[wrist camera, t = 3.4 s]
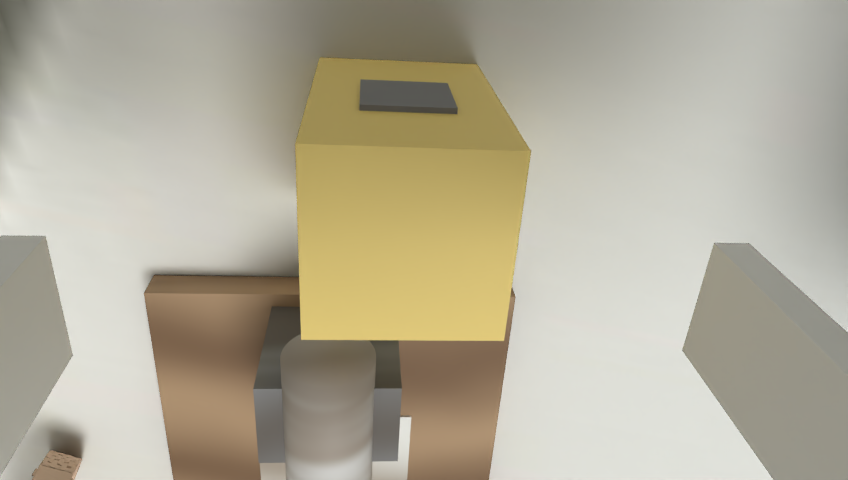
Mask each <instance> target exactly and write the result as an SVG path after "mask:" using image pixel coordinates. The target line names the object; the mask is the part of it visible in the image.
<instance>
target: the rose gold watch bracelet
mask: <svg viewBox="0 0 848 480" xmlns="http://www.w3.org/2000/svg"><path fill="white" fill-rule="evenodd" d="M81 461H82V458H76V457H74V456H71V455H66V454H64V453H61V452H60V453H59V452H55V451H52V450H50V451H49V452H48V454H47V455H46V457H45V458H44V459H43V461H42V463H41V464H40V466H39V468H38V469H37V468H36V469H35V470H34V472H33V474H32V476H34V477H33V478H32V480H74V479H75V477H76V474H77V472H78V469H79V467H80V464H81Z"/></svg>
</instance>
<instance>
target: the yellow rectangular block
mask: <svg viewBox="0 0 848 480" xmlns="http://www.w3.org/2000/svg"><path fill="white" fill-rule="evenodd" d="M295 154H296V188H297V221H298V254H299V287H300V321H301V340H427V341H504V337H505V330H506V323H507V316H508V309H509V302H510V295H511V288H512V281H513V274H514V267H515V260H516V253H517V246H518V239H519V232H520V225H521V218H522V211H523V204H524V197H525V190H526V183H527V176H528V169H529V162H530V155H531V150H530V149H529V147H528V146H527V144H526V142H525V141H524V139H523V138H522V136H521V134H520V133H519V131H518V129H517V128H516V126H515V125H514V123H513V121H512V120H511V118H510V116H509V115H508V113H507V112H506V110H505V108H504V107H503V105H502V104H501V102H500V100H499V99H498V97H497V95H496V94H495V92H494V91H493V89H492V87H491V86H490V84H489V82H488V81H487V79H486V78H485V76H484V74H483V73H482V71H481V70H480V68H479V66H478V65H477V64H460V63H437V62H414V61H392V60H369V59H346V58H324V57H320V58H319V61H318V65H317V68H316V72H315V76H314V79H313V83H312V86H311V90H310V93H309V97H308V100H307V104H306V107H305V111H304V114H303V118H302V121H301V125H300V128H299V132H298V136H297V139H296V143H295Z"/></svg>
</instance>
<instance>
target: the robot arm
mask: <svg viewBox="0 0 848 480" xmlns="http://www.w3.org/2000/svg"><path fill="white" fill-rule="evenodd" d="M682 351H683V352H684V353H685V355H686V356H687V358H688V359H689V361H690V362H691V363H692V365H693V366H694V368H695V369H696V370H697V372H698V373H699V375H700V376H701V378H702V379H703V380H704V382H705V383H706V385H707V386H708V387H709V389H710V390H711V392H712V393H713V395H714V396H715V397H716V399H717V400H718V402H719V403H720V404H721V406H722V407H723V409H724V410H725V412H726V413H727V414H728V416H729V417H730V419H731V420H732V421H733V423H734V424H735V426H736V427H737V429H738V430H739V431H740V433H741V434H742V436H743V437H744V439H745V440H746V441H747V443H748V444H749V446H750V447H751V448H752V450H753V451H754V453H755V454H756V456H757V457H758V458H759V460H760V461H761V463H762V464H763V465H764V467H765V468H766V470H767V471H768V473H769V474H770V475H771V477H772V478H773V480H848V333H847V332H846V331H845V330H844V329H843V328H842V327H841V326H840V325H839V324H837V323H836V322H835V321H834V320H833V319H832V318H831V317H830V316H829V315H827V314H826V313H825V312H824V311H823V310H822V309H821V308H820V307H819V306H818V305H816V304H815V303H814V302H813V301H812V300H811V299H810V298H809V297H808V296H807V295H805V294H804V293H803V292H802V291H801V290H800V289H799V288H798V287H797V286H795V285H794V284H793V283H792V282H791V281H790V280H789V279H788V278H787V277H786V276H784V275H783V274H782V273H781V272H780V271H779V270H778V269H777V268H776V267H775V266H773V265H772V264H771V263H770V262H769V261H768V260H767V259H766V258H765V257H763V256H762V255H761V254H760V253H759V252H758V251H757V250H756V249H755V248H754V247H752V246H751V245H750V244H749V243H714V245H713V249H712V252H711V255H710V259H709V262H708V266H707V269H706V272H705V276H704V279H703V282H702V286H701V289H700V293H699V296H698V299H697V303H696V306H695V309H694V313H693V316H692V320H691V323H690V326H689V330H688V333H687V336H686V340H685V343H684V347H683V350H682ZM72 356H73V354H72V350H71V346H70V341H69V337H68V332H67V328H66V324H65V319H64V315H63V311H62V306H61V302H60V297H59V293H58V289H57V284H56V280H55V276H54V271H53V267H52V262H51V258H50V254H49V249H48V245H47V241H46V236H1V237H0V476H1V474H2V472H3V471H4V469H5V467H6V466H7V464H8V462H9V461H10V459H11V457H12V456H13V454H14V452H15V451H16V449H17V447H18V446H19V444H20V442H21V441H22V439H23V437H24V436H25V434H26V432H27V431H28V429H29V427H30V426H31V424H32V422H33V421H34V419H35V417H36V416H37V414H38V412H39V411H40V409H41V407H42V406H43V404H44V402H45V401H46V399H47V397H48V396H49V394H50V392H51V391H52V389H53V387H54V386H55V384H56V382H57V381H58V379H59V377H60V376H61V374H62V372H63V371H64V369H65V367H66V366H67V364H68V362H69V361H70V359H71V357H72Z"/></svg>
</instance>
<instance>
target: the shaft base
mask: <svg viewBox="0 0 848 480" xmlns="http://www.w3.org/2000/svg"><path fill="white" fill-rule="evenodd" d="M144 296H145V303H146V309H147V315H148V322H149V328H150V334H151V341H152V347H153V353H154V360H155V366H156V372H157V378H158V385H159V391H160V397H161V404H162V410H163V416H164V423H165V429H166V435H167V441H168V448H169V454H170V460H171V467H172V473H173V479H174V480H489V474H490V468H491V461H492V454H493V447H494V440H495V433H496V426H497V420H498V413H499V406H500V399H501V392H502V385H503V378H504V372H505V365H506V358H507V351H508V344H509V337H510V330H511V324H512V317H513V310H514V303H515V294H514V292H513V289H512V288H511V295H510V302H509V309H508V316H507V323H506V330H505V337H504V341H427V340H301V321H300V287H299V277H253V276H172V275H154V276H153V278H152V279H151V281H150V283H149V285H148V287H147V289H146V290H145V292H144Z"/></svg>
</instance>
